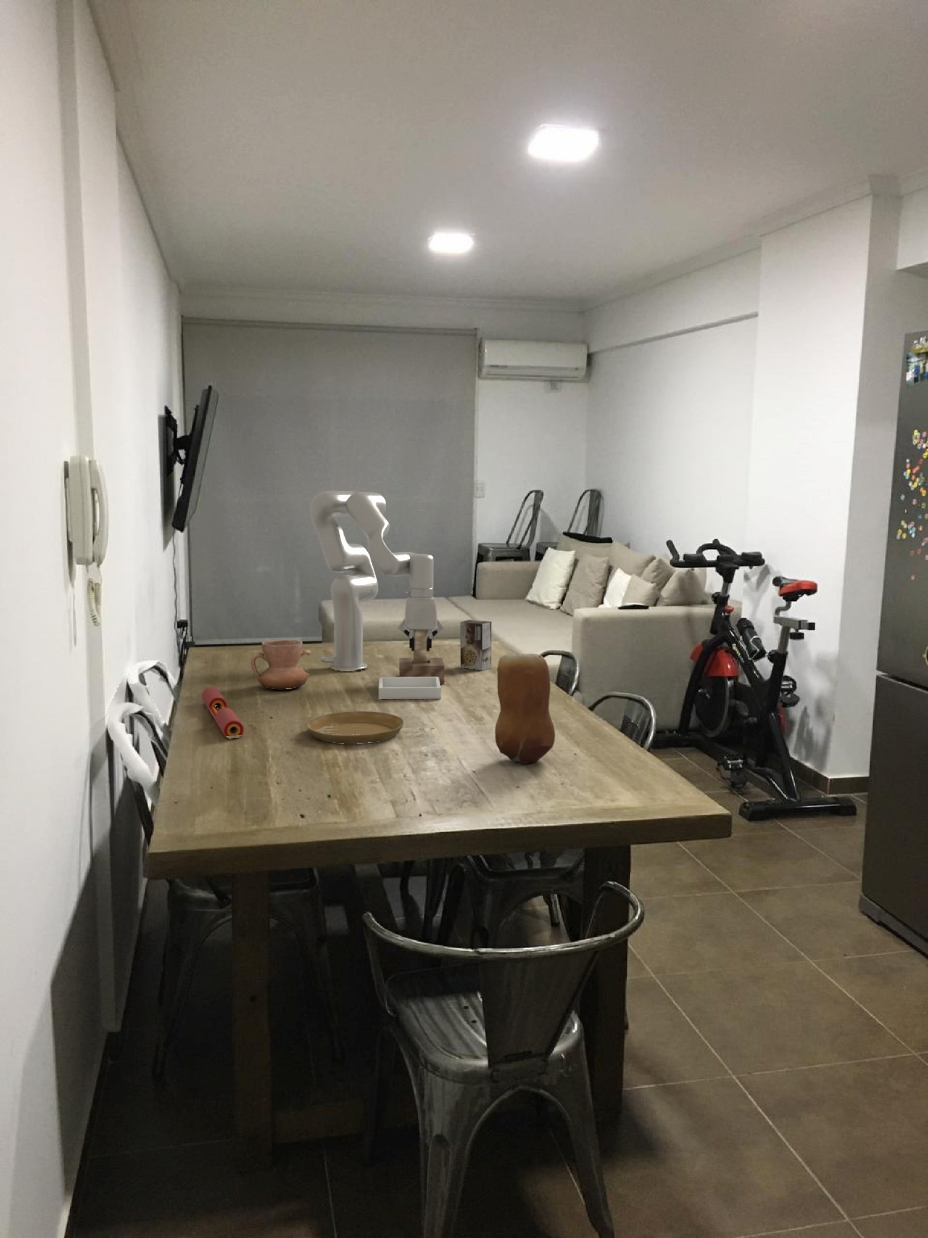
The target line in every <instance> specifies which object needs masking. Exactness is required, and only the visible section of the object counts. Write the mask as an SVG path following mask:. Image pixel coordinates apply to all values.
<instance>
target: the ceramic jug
mask: <svg viewBox="0 0 928 1238" xmlns="http://www.w3.org/2000/svg"><path fill="white" fill-rule="evenodd" d="M261 648H262V652H263V653H262V652H255V653H254V654H253V655H252V656H251V658H250V666H251V667H250V668H251V669H252V671H253V673H254V674H255V676H256V680H257V681H258V683H259V684H261V686H263V687H264V688H267V687H268V688H267V689H270V688H274V689H286V688H294V687H298V688H300V687H301V686H303V685H305V684H306V682H307V680H308V679H309V677H310V673H308V672H306V671H305V670H304V669H302V668H301V667H299V665H298V662H299V659H300V658H301V657H302V656H304V655H308V656H310V655H311V650H309V649H305V650H302V649H303V641H302V640H300V639H299V640H298V639H279V640H278V639H277V640H269V641H267V640H266V641H263V642H261ZM257 658H258V659H259V658H260V659H262V660H264V661H266V662H267V664H268V667H267V668H266V669H265V670H264V671H263V672H261V673H259V671H258V669H257V665H256V661H257ZM274 689H273V690H274Z"/></svg>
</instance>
